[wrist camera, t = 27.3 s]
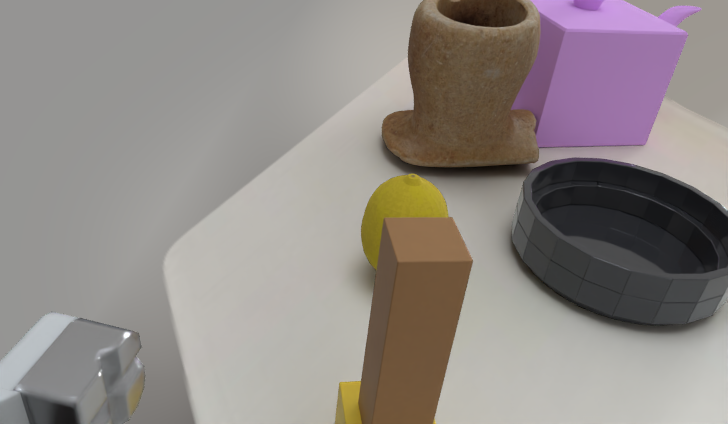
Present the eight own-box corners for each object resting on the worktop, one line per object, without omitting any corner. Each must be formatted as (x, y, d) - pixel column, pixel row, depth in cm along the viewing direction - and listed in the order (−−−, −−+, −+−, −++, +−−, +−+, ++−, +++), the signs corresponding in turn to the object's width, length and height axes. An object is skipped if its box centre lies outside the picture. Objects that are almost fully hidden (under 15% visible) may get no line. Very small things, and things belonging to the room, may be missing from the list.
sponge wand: (333, 436, 31) (359, 198, 23) (411, 431, 31) (461, 199, 24) (345, 535, 27) (382, 286, 19) (435, 526, 27) (505, 283, 20)
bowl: (470, 220, 48) (482, 170, 46) (615, 193, 54) (632, 148, 52) (606, 357, 37) (631, 301, 35) (769, 305, 43) (801, 253, 41)
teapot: (702, 143, 65) (762, 10, 58) (486, 148, 59) (521, 0, 52) (622, 87, 78) (662, -29, 70) (435, 87, 71) (457, -41, 64)
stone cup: (395, 190, 51) (422, 7, 43) (372, 126, 61) (391, -33, 53) (564, 191, 54) (620, 19, 46) (516, 130, 64) (555, -21, 55)
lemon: (359, 248, 44) (371, 148, 39) (437, 258, 44) (457, 160, 39) (351, 299, 39) (364, 193, 35) (438, 311, 39) (461, 205, 35)
